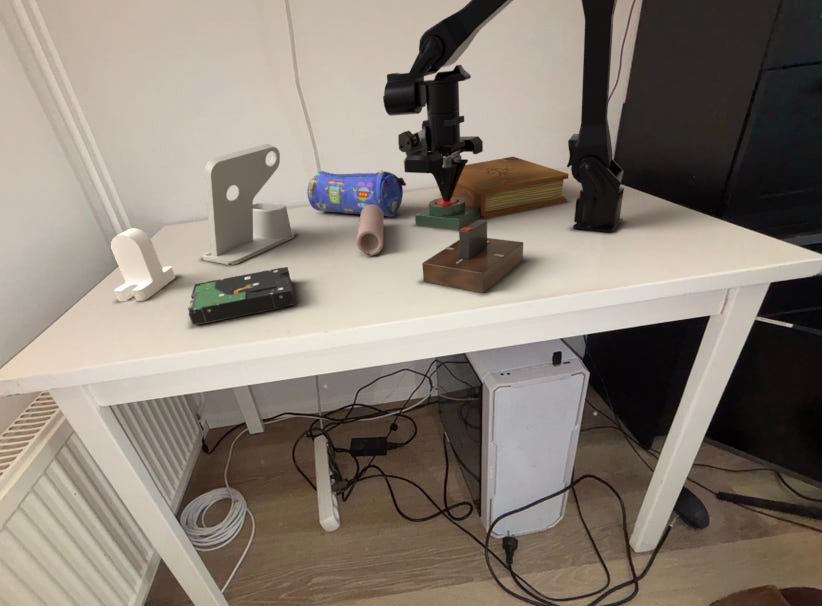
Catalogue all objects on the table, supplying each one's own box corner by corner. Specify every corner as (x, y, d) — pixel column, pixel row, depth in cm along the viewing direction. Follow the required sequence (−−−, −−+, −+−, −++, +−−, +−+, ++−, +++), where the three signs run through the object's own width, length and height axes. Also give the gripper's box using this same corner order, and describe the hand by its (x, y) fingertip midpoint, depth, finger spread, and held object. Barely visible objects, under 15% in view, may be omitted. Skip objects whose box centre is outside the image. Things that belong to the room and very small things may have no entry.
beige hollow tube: (383, 230, 82) (383, 203, 98) (355, 230, 82) (360, 203, 98) (383, 256, 85) (383, 226, 100) (356, 257, 85) (361, 226, 100)
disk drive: (291, 282, 79) (198, 299, 77) (287, 265, 78) (193, 282, 76) (296, 307, 71) (192, 327, 69) (292, 289, 69) (186, 309, 67)
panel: (522, 260, 76) (523, 241, 74) (482, 293, 68) (482, 272, 66) (466, 252, 81) (466, 234, 80) (423, 281, 73) (421, 261, 71)
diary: (440, 195, 115) (438, 169, 112) (512, 181, 118) (512, 156, 115) (481, 219, 96) (481, 189, 93) (566, 202, 99) (568, 172, 96)
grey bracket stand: (266, 231, 106) (244, 142, 96) (299, 235, 100) (279, 141, 91) (200, 259, 94) (168, 161, 85) (233, 265, 89) (203, 162, 79)
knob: (477, 245, 75) (477, 218, 73) (487, 246, 74) (487, 219, 72) (459, 257, 72) (458, 229, 69) (469, 259, 71) (468, 230, 68)
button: (461, 207, 96) (460, 198, 95) (450, 213, 93) (450, 204, 92) (443, 206, 98) (443, 197, 97) (433, 212, 95) (432, 203, 94)
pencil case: (409, 210, 106) (405, 165, 101) (388, 222, 101) (383, 174, 96) (331, 206, 118) (323, 164, 113) (308, 217, 112) (299, 173, 107)
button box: (479, 218, 96) (479, 197, 94) (459, 230, 91) (458, 209, 89) (437, 214, 102) (436, 194, 100) (415, 225, 97) (414, 205, 95)
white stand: (176, 276, 88) (156, 221, 82) (145, 300, 79) (120, 241, 74) (151, 277, 89) (129, 223, 83) (117, 301, 80) (91, 243, 75)
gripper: (433, 106, 97) (437, 186, 105) (375, 122, 85) (385, 211, 93) (483, 103, 90) (484, 189, 99) (428, 120, 79) (434, 216, 87)
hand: (446, 200), depth 94 cm, fingers closed, pressing on button
